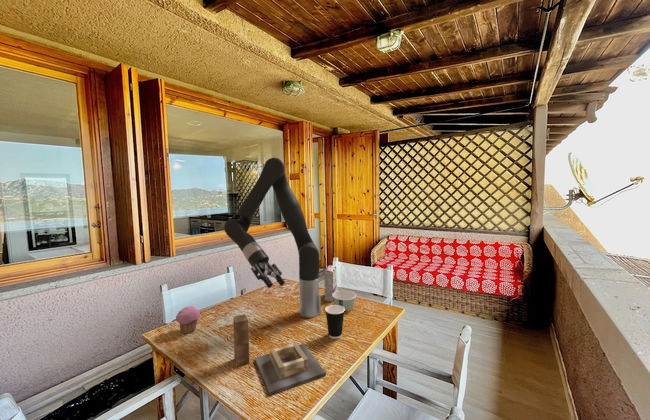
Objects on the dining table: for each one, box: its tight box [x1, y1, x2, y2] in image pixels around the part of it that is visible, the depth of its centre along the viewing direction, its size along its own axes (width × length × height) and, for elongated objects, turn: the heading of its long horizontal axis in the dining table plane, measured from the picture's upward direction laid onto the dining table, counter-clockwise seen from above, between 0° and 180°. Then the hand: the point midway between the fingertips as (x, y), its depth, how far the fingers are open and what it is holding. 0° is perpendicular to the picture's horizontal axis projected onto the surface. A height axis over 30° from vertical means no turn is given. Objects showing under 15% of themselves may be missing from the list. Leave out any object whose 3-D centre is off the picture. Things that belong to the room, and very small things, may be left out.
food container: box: [332, 290, 357, 312], centre depth 134 cm, size 12×12×6 cm
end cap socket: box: [254, 342, 327, 397], centre depth 88 cm, size 18×18×4 cm
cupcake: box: [175, 305, 201, 334], centre depth 112 cm, size 9×9×10 cm
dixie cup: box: [324, 304, 345, 340], centre depth 107 cm, size 8×8×11 cm
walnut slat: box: [232, 313, 250, 368], centre depth 92 cm, size 4×5×15 cm
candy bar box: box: [323, 264, 338, 303], centre depth 146 cm, size 11×5×16 cm, turn 168°
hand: (277, 285), depth 106 cm, fingers open, 8 cm apart
